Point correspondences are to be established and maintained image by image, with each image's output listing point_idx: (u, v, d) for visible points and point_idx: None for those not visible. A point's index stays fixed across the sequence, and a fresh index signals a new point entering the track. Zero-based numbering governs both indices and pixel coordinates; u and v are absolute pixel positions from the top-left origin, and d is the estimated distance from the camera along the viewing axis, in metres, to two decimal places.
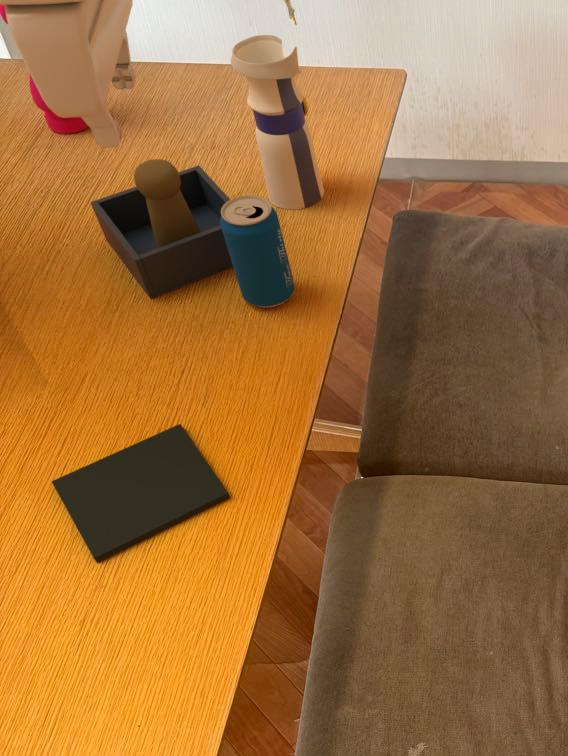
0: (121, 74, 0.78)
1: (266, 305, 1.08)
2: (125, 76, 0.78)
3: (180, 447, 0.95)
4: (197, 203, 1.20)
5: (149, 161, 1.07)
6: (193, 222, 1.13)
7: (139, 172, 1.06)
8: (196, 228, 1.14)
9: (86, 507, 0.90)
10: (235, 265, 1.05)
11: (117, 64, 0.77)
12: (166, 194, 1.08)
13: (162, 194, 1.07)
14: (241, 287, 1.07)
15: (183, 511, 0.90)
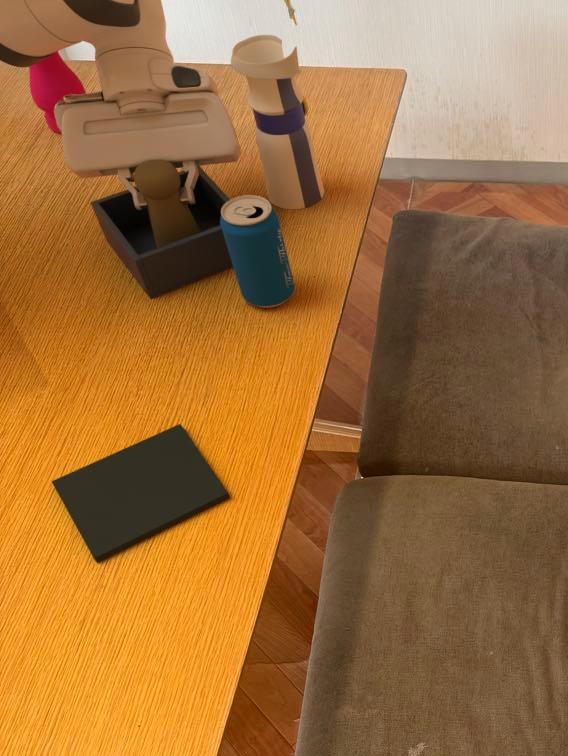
0: None
1: (266, 305, 1.08)
2: None
3: (180, 447, 0.95)
4: (197, 203, 1.20)
5: (149, 161, 1.07)
6: (193, 222, 1.13)
7: (139, 172, 1.06)
8: (196, 228, 1.14)
9: (86, 507, 0.90)
10: (235, 265, 1.05)
11: None
12: (166, 194, 1.08)
13: (162, 194, 1.07)
14: (241, 287, 1.07)
15: (183, 511, 0.90)
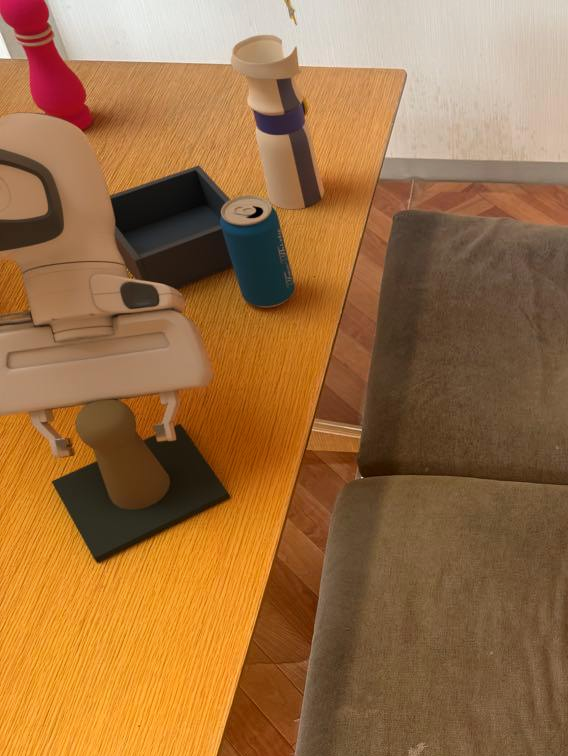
0: (69, 443, 0.85)
1: (266, 305, 1.08)
2: (69, 445, 0.86)
3: (180, 447, 0.95)
4: (197, 203, 1.20)
5: (95, 403, 0.83)
6: (154, 465, 0.89)
7: (82, 421, 0.82)
8: (158, 471, 0.90)
9: (86, 507, 0.90)
10: (235, 265, 1.05)
11: (59, 438, 0.85)
12: (117, 446, 0.83)
13: (112, 446, 0.83)
14: (241, 287, 1.07)
15: (183, 511, 0.90)
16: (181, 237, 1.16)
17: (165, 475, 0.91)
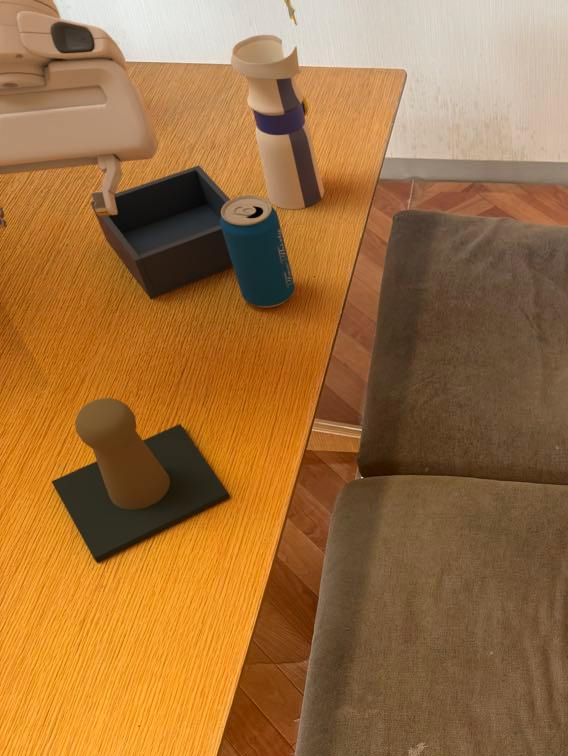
0: None
1: (266, 305, 1.08)
2: (0, 215, 0.78)
3: (180, 447, 0.95)
4: (197, 203, 1.20)
5: (95, 403, 0.83)
6: (154, 465, 0.89)
7: (82, 421, 0.82)
8: (158, 471, 0.90)
9: (86, 507, 0.90)
10: (235, 265, 1.05)
11: None
12: (117, 446, 0.83)
13: (112, 446, 0.83)
14: (241, 287, 1.07)
15: (183, 511, 0.90)
16: (181, 237, 1.16)
17: (165, 475, 0.91)
